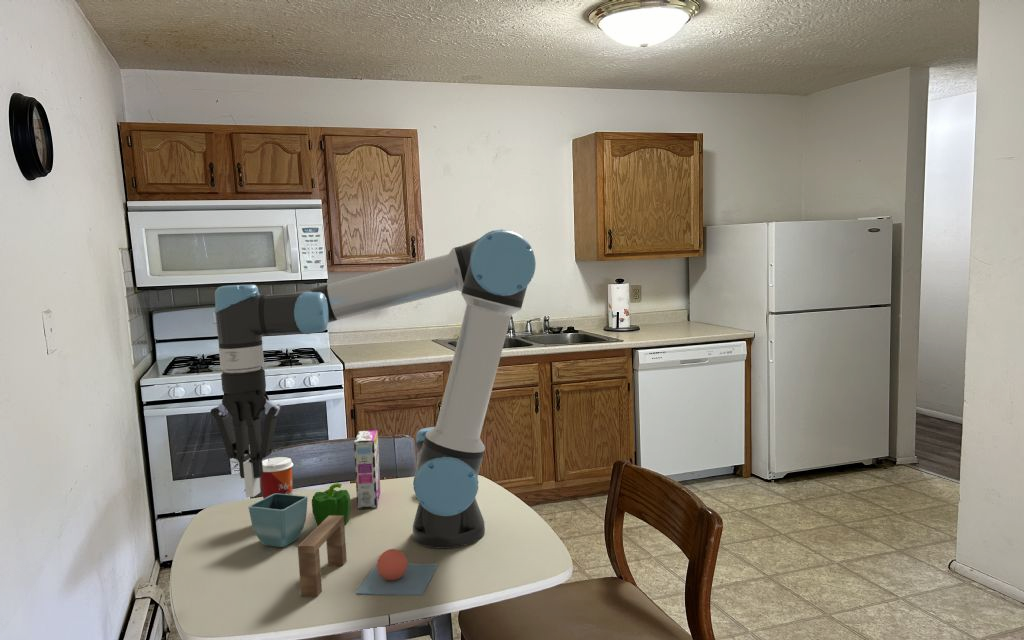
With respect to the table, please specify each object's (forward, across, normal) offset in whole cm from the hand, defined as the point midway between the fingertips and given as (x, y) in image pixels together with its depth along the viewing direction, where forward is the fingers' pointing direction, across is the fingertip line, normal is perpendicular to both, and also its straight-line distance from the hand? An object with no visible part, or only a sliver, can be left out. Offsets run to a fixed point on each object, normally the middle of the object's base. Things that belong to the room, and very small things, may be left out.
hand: (253, 494), depth 132 cm
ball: (+13, +26, 0) cm, 29 cm away
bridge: (+16, +13, 0) cm, 20 cm away
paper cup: (+16, -9, +28) cm, 34 cm away
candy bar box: (+16, +8, +41) cm, 45 cm away
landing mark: (+16, +27, 0) cm, 31 cm away
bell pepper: (+16, +5, +24) cm, 29 cm away
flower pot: (+16, -3, +16) cm, 23 cm away
